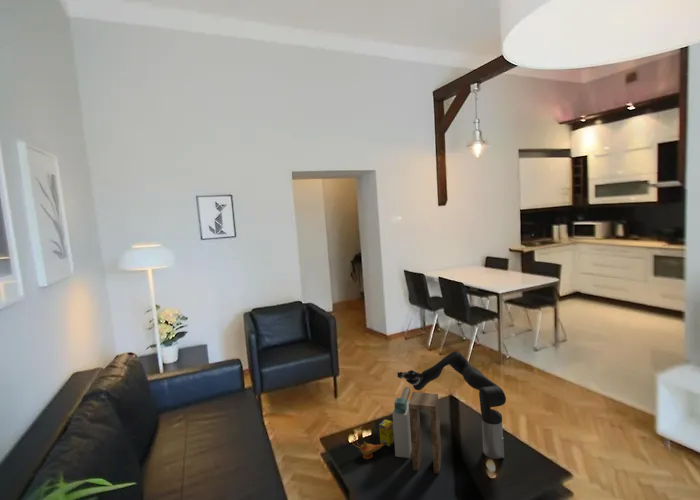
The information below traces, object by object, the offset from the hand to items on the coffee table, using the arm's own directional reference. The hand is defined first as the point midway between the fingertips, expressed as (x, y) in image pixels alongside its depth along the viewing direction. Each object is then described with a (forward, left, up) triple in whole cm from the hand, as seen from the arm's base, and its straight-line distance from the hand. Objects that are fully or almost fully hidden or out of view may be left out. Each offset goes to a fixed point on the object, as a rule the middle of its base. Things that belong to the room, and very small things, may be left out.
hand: (408, 374), depth 209 cm
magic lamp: (+15, +31, -30) cm, 46 cm away
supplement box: (+9, +19, -30) cm, 37 cm away
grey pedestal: (0, +22, -30) cm, 37 cm away
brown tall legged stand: (-13, +31, -30) cm, 45 cm away
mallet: (0, +17, -8) cm, 18 cm away
